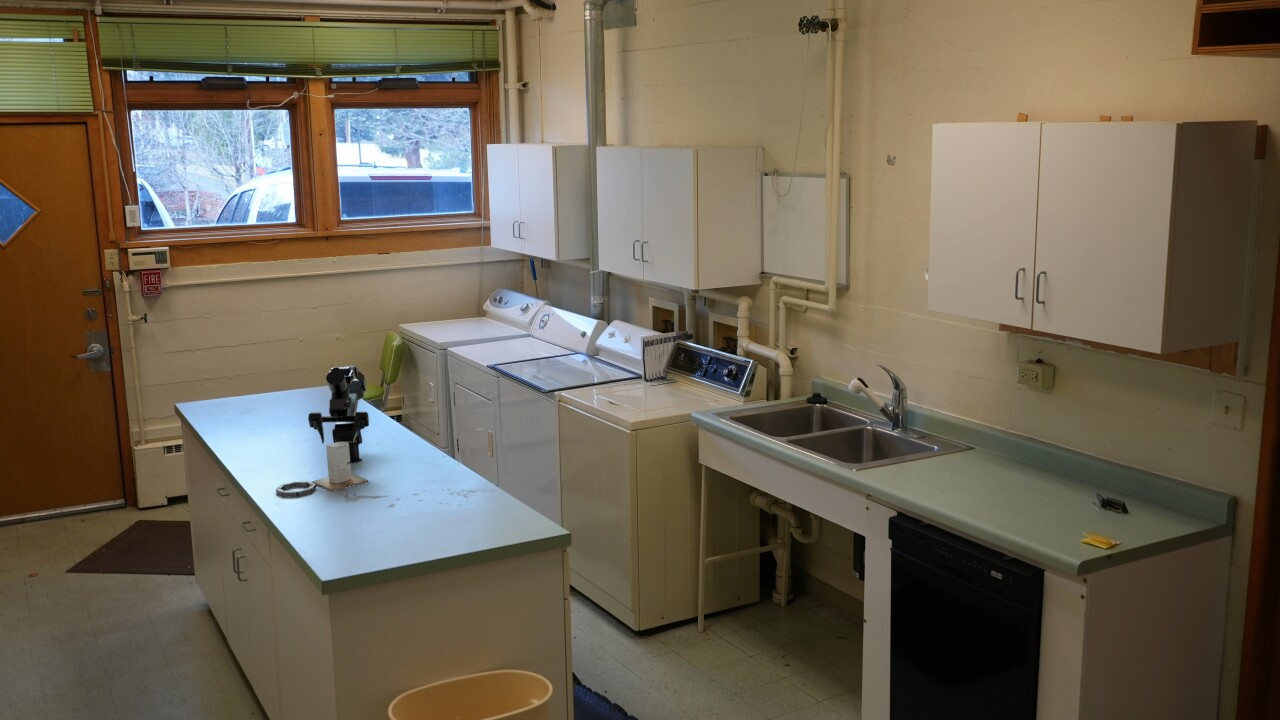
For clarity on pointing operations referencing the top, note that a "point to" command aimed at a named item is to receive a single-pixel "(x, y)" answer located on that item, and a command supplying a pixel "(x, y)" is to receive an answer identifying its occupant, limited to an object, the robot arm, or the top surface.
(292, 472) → the top surface
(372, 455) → the top surface
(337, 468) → the skincare box
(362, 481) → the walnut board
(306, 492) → the grey octagonal ring
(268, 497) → the top surface
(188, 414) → the top surface
